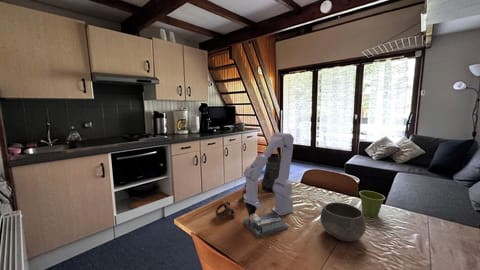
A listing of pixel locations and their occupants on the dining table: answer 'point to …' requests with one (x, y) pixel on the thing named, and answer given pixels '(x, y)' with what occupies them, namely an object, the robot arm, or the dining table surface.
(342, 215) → the bowl
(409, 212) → the dining table surface
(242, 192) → the stuffed squirrel
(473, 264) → the dining table surface
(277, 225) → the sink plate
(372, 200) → the plant pot
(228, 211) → the pottery mug
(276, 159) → the beer stein
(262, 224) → the strap
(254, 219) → the block
